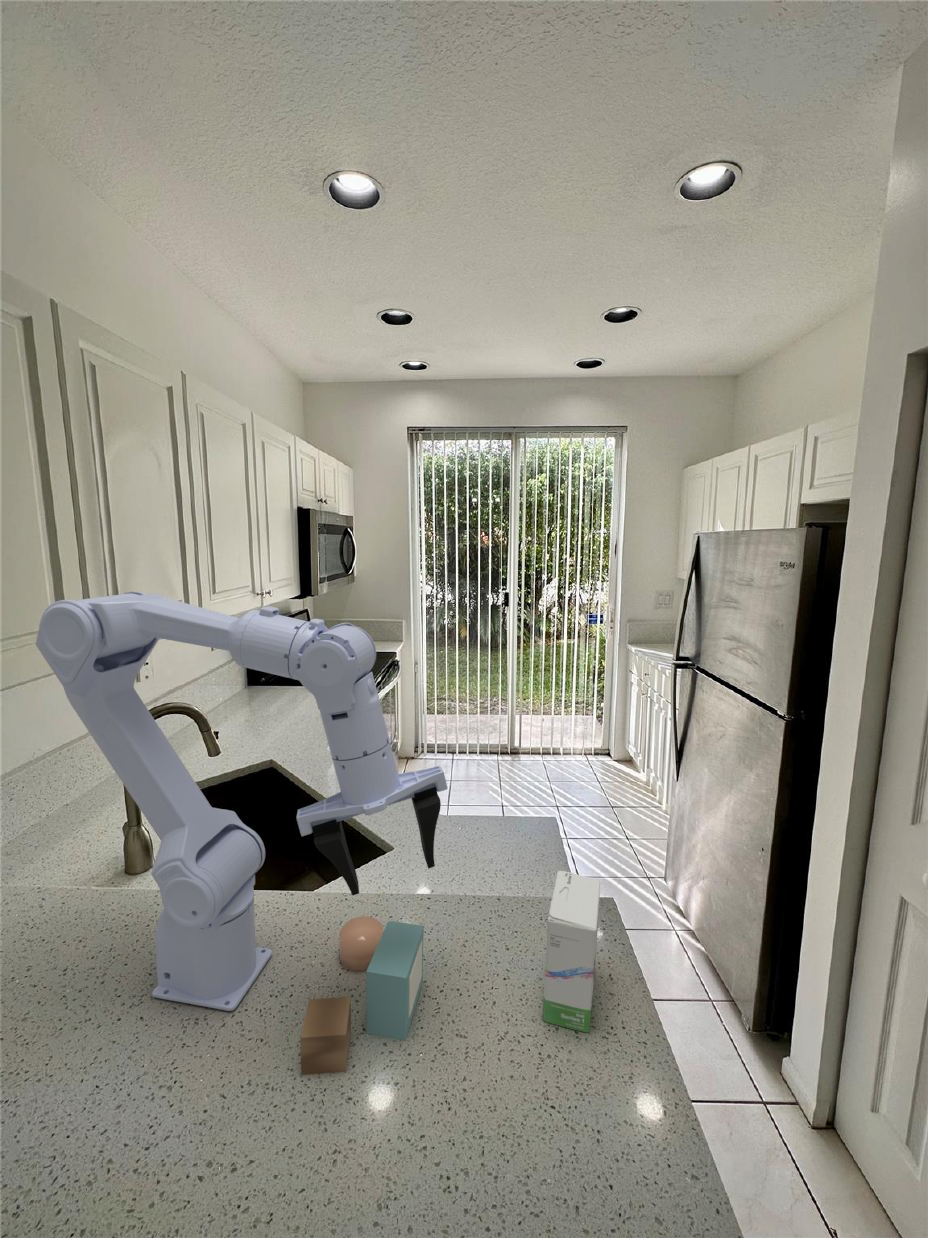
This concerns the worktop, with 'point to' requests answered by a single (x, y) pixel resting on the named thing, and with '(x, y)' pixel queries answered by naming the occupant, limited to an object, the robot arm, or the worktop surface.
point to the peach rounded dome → (359, 942)
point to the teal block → (394, 980)
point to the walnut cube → (326, 1036)
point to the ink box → (571, 951)
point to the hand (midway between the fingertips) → (393, 875)
